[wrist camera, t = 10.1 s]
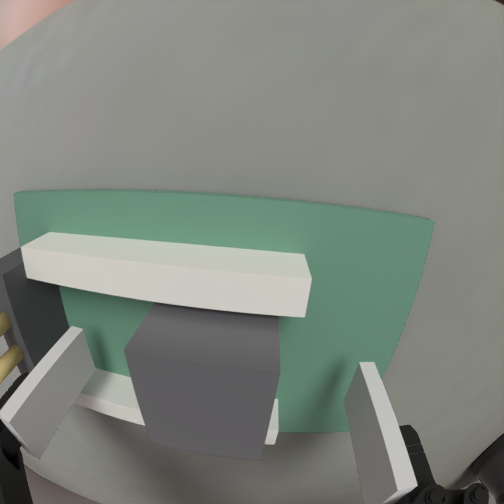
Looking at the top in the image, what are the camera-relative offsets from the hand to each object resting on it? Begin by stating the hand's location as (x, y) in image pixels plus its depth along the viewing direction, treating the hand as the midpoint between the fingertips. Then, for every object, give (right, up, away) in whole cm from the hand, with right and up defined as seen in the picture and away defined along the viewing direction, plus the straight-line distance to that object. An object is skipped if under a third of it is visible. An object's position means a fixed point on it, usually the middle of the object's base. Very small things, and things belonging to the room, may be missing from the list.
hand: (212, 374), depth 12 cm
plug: (0, +1, +2) cm, 2 cm away
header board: (-1, +1, +3) cm, 3 cm away
